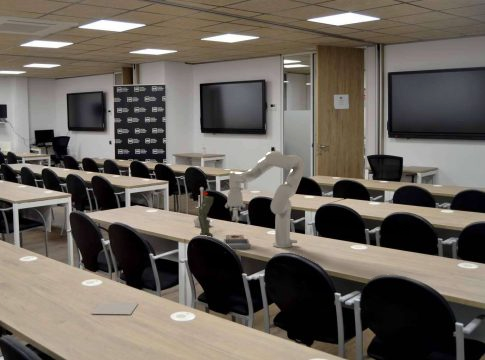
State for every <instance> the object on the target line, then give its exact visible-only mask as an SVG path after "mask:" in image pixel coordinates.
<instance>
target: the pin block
mask: <svg viewBox="0 0 485 360" xmlns="http://www.w3.org/2000/svg"><path fill="white" fill-rule="evenodd" d="M244 235H245V234H226V235H225V239H246V238H245V236H244Z"/></svg>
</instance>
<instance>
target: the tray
mask: <svg viewBox="0 0 485 360" xmlns="http://www.w3.org/2000/svg"><path fill="white" fill-rule="evenodd" d="M224 243H226V244H228V245H229V246H230V247H231V248H232V250H250V248H251V246H250V241H249V238H245V239H226V238H223V244H224Z"/></svg>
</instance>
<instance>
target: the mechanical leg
mask: <svg viewBox="0 0 485 360" xmlns="http://www.w3.org/2000/svg"><path fill="white" fill-rule="evenodd" d="M213 204H214V197H213V196H210V195H205V196H203V201H202V205H201V204H200V205H199V207H198V214H197V218H199V223H200V227H199V228H200V230H201V231H200V233H199V235H207V236H212V237H213V235H214V234H213V233H211V231H210V223H209V220H207V218H208V214H209V211H210V208H211V207H212V205H213Z"/></svg>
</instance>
